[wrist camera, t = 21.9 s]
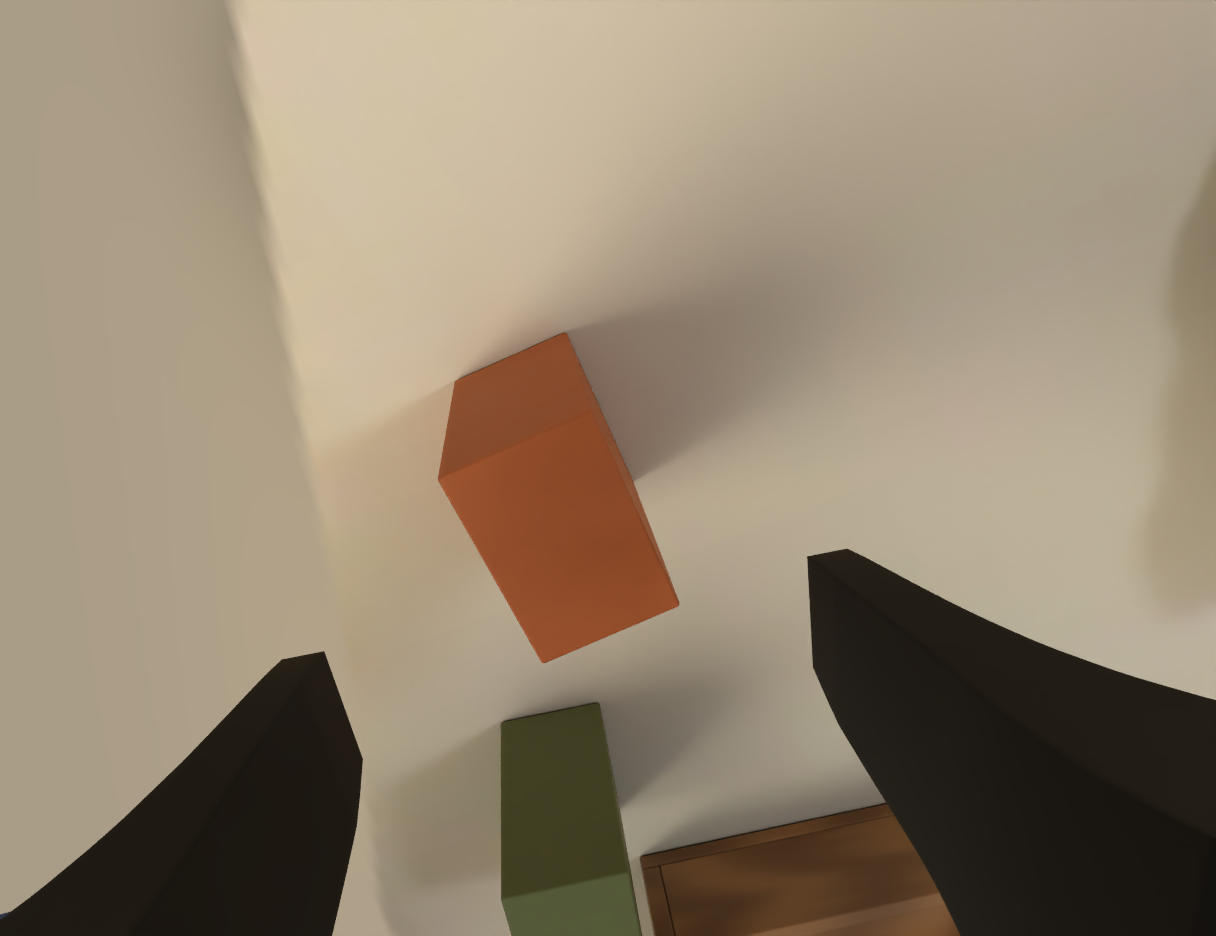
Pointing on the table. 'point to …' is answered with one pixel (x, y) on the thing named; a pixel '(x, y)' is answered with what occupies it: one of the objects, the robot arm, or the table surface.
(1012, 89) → the table surface
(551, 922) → the block
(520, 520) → the orange rectangular block
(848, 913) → the wooden tray
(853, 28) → the table surface
